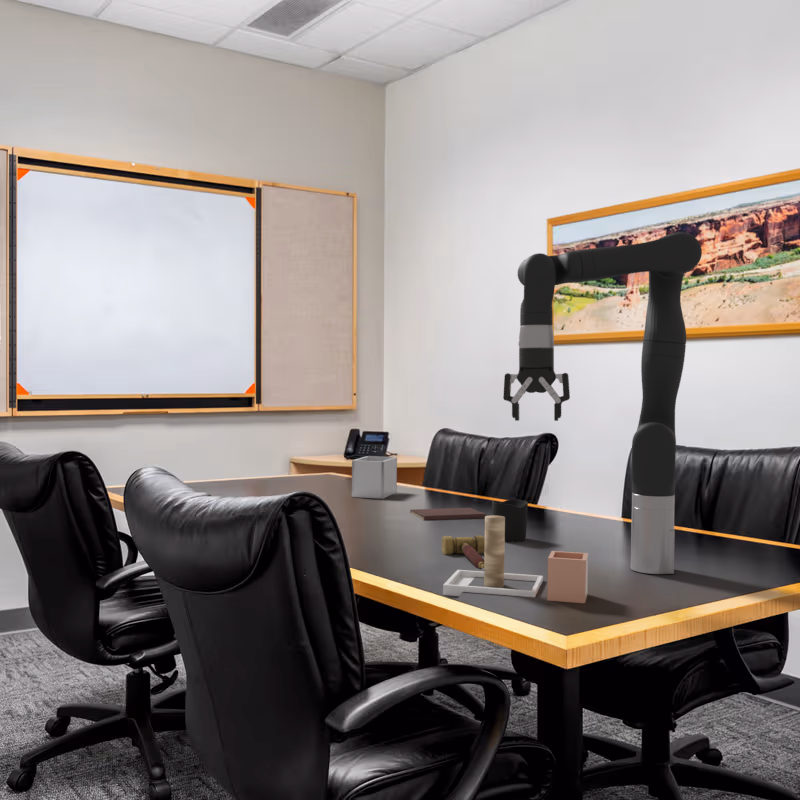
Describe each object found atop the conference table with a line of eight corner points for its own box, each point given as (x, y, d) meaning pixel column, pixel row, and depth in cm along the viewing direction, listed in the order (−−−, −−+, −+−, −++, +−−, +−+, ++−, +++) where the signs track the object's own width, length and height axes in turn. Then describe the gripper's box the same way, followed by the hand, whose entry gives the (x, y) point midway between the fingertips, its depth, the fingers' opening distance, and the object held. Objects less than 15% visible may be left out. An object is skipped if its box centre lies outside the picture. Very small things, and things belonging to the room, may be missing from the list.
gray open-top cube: (396, 492, 320) (397, 457, 319) (383, 498, 303) (383, 461, 302) (366, 490, 323) (367, 456, 322) (351, 497, 306) (352, 460, 305)
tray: (542, 585, 179) (542, 575, 179) (534, 602, 165) (535, 591, 165) (457, 579, 183) (457, 569, 183) (443, 594, 170) (443, 584, 170)
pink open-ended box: (587, 599, 168) (588, 553, 168) (585, 608, 161) (585, 560, 161) (550, 596, 170) (551, 550, 170) (547, 605, 163) (548, 557, 163)
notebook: (410, 514, 272) (410, 508, 272) (469, 512, 278) (469, 506, 278) (423, 522, 258) (423, 515, 258) (485, 520, 263) (486, 513, 263)
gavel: (505, 556, 193) (462, 557, 191) (504, 576, 194) (461, 577, 192) (481, 533, 214) (441, 534, 212) (480, 551, 214) (441, 552, 212)
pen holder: (526, 543, 224) (526, 505, 224) (489, 541, 226) (490, 503, 226) (528, 536, 233) (528, 500, 233) (493, 535, 235) (493, 498, 235)
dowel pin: (505, 584, 176) (506, 516, 175) (502, 589, 172) (503, 519, 171) (485, 583, 177) (486, 515, 176) (482, 587, 173) (483, 518, 172)
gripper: (570, 346, 191) (570, 420, 191) (506, 347, 195) (506, 419, 195) (568, 345, 184) (568, 421, 184) (501, 346, 187) (501, 421, 188)
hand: (536, 420), depth 189 cm, fingers open, 8 cm apart
